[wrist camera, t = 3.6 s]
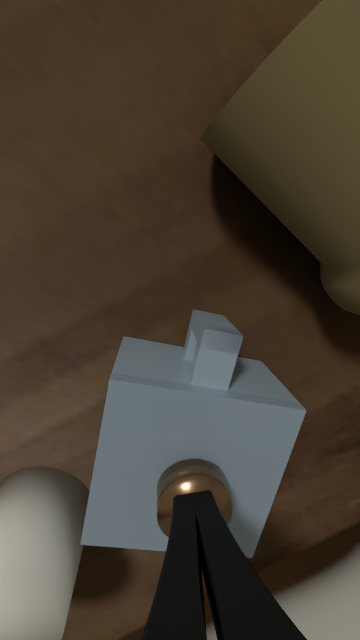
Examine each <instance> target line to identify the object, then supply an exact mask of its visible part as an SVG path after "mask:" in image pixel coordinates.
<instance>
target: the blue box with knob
mask: <svg viewBox="0 0 360 640" xmlns="http://www.w3.org/2000/svg"><path fill="white" fill-rule="evenodd" d="M242 339H243V335H242V334H241V333H240V332H239V331H238V330H237V329H236V328H235V327H234V326H233V325H232V324H231V323H230V322H229V321H228V320H227V319H226V318H225V317H224V316H223V315H218V314H213V313H208V312H203V311H198V310H193V312H192V316H191V321H190V325H189V329H188V333H187V337H186V342H185V346H184V347H180V346H175V345H169V344H163V343H158V342H152V341H147V340H141V339H136V338H130V337H125V336H124V337H123V340H122V343H121V346H120V349H119V352H118V355H117V358H116V361H115V364H114V367H113V370H112V373H111V377H110V380H109V385H108V391H107V397H106V402H105V408H104V414H103V419H102V425H101V431H100V436H99V442H98V447H97V453H96V459H95V464H94V470H93V476H92V481H91V487H90V492H89V498H88V504H87V509H86V515H85V521H84V526H83V532H82V538H81V543H80V545H90V546H103V547H116V548H129V549H143V550H156V551H166V549H167V544H168V539H169V537H167V536H166V535H165V534H164V533H163V532H162V531H161V529H160V527H159V525H158V521H157V483H158V480H159V478H160V476H161V475H162V473H163V472H164V471H165V470H166V469H167V468H168V467H170V466H171V465H173V464H175V463H176V462H179V461H182V460H186V459H202V460H206V461H209V462H211V463H213V464H214V465H215V466H217V467H218V468H219V469H220V471H221V472H222V474H223V476H224V480H225V483H226V486H227V490H228V493H229V496H230V500H231V503H232V509H233V511H232V517H231V520H230V522H229V524H228V525H227V526H228V528H229V530H230V531H231V533H232V535H233V537H234V538H235V540H236V542H237V543H238V545H239V547H240V548H241V550H242V552H243V553H244V555H245V556H246V557H248V558H253V555H254V552H255V550H256V547H257V544H258V541H259V539H260V536H261V533H262V530H263V528H264V525H265V522H266V520H267V517H268V514H269V511H270V509H271V506H272V503H273V500H274V498H275V495H276V492H277V489H278V487H279V484H280V481H281V479H282V476H283V473H284V470H285V468H286V465H287V462H288V459H289V457H290V454H291V451H292V449H293V446H294V443H295V440H296V438H297V435H298V432H299V429H300V427H301V424H302V421H303V419H304V416H305V413H306V409H305V408H304V407H303V406H302V405H301V404H300V403H299V402H298V401H297V400H296V398H295V397H294V396H293V395H292V394H291V393H290V392H289V391H288V390H287V389H286V388H285V386H284V385H283V384H282V383H281V382H280V381H279V380H278V379H277V378H276V377H275V376H274V375H273V373H272V372H271V371H270V370H269V369H268V368H267V367H266V366H265V365H264V364H263V363H262V361H258V360H252V359H247V358H241V357H238V353H239V350H240V346H241V343H242Z"/></svg>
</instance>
